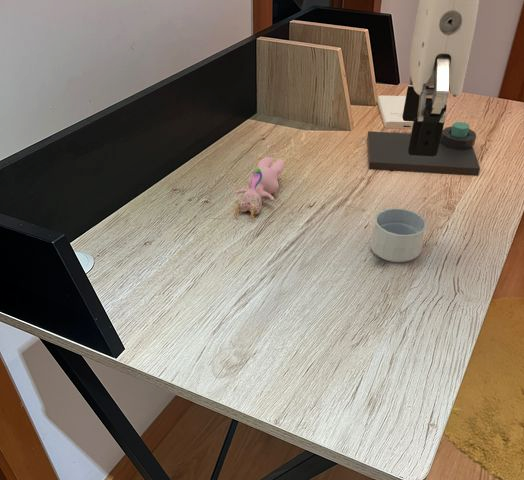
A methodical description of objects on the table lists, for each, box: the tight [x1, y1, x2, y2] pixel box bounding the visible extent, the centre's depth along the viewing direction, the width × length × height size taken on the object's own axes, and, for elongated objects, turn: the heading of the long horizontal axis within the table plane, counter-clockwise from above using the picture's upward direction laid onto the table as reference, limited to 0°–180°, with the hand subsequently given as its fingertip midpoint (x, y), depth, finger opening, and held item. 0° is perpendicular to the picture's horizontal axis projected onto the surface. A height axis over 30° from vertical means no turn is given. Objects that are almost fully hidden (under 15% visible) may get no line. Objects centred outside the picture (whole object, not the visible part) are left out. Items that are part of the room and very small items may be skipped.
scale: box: [366, 125, 481, 177], centre depth 98 cm, size 18×12×3 cm
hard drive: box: [376, 94, 413, 130], centre depth 111 cm, size 2×8×12 cm
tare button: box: [451, 121, 471, 138], centre depth 99 cm, size 3×3×2 cm
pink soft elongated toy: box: [233, 156, 285, 222], centre depth 87 cm, size 6×6×15 cm
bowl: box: [369, 207, 428, 263], centre depth 78 cm, size 7×7×4 cm
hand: (418, 136), depth 68 cm, fingers open, 8 cm apart
